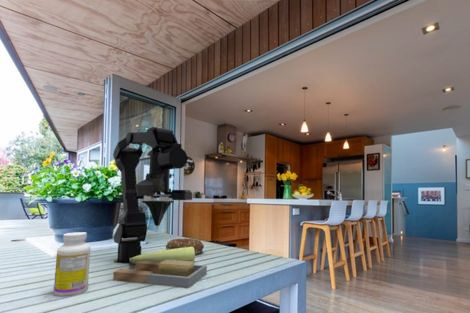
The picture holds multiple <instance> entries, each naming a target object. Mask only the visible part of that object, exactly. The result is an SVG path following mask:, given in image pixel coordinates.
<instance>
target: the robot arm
mask: <svg viewBox="0 0 470 313" xmlns="http://www.w3.org/2000/svg"><path fill="white" fill-rule="evenodd" d="M130 144H131V145H139V146H138V147H137V148H136V147H129V145H130ZM143 145H146V146H149V147H151V150H150V151H149V152H148V153H147V156H148V157H149V169H148V170H149V172H148V173H146V175H145V179H143V180H141V181H140V182H137V174H136V173H137V172H136V169H137V167H138V165H139V164H140V159H141V157H142V155H143V153H144V151H143ZM112 155H113V159H114V164H115V166H116V168H117V169H118V171H119V172H120V176H121V191H122V193H121V194H122V202H123V203H122V205H123V207H122V208H123V213H122V215H121V217H120V218H119V221H118V226H117V228H116V231H115V233H114V234H113V243H116V244H117V259H115V260H113V263H118V264H119V263H120V264H130V265H131V264H132V265H133V263H132V262H131V263H130V259H129V258H133V257H135V256H139V255H142V246H141V242H145V240H146V236H147V232H148V224H147V220H146V219H147V215H146V213H145V212H142V211H141V209H140V206H139V205H140V204H139V200H142V201H141V202H142V203H144V204H145V205H146V206H147V207H148V208H149V211H150V215H151V218H152V221H153V224H154V227H155V226H156V227H159V226H160V225H161V223H162V220H163V219H164V216H165V214H166V212H167V211H168V209H169V207H170V205H171V204H172V203H175V201H192V200H193V193H192V191H191V189H171V188H170V179H172V177H173V176H172V174H171V172H170V170H177V169H182V168H184V167H185V166H186V165H187V164H188V160H189V158H188V155H187V152H186V150H184V149H183V147H182V143H178V139H177V137H176V135H175V134H174V130H172V129H170V128H169V129H168V128H163V127H156V126H151V127H148V128H147V129H146V131H135V132H134V131H129V132H127V134H126V136H125V137H124V138H123V139H121V140H120V141H118V142H117V144H116V146H115V148H114V150H113V154H112Z"/></svg>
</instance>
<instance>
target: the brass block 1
mask: <svg viewBox="0 0 470 313" xmlns="http://www.w3.org/2000/svg"><path fill="white" fill-rule="evenodd" d="M177 262H179V261H178V260H165V261H163V262H160V263H159V274H161V275H173V264H175V263H177Z"/></svg>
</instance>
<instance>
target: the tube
mask: <svg viewBox="0 0 470 313" xmlns="http://www.w3.org/2000/svg"><path fill="white" fill-rule="evenodd" d="M129 259H130V263H131V262H132V264H135V263H136V262H139V261H152V262H163V261H165V260H178V261H192V262H194V263H195V259H196V255H195V250H194V247H185V248H177V249H170V250H166V249H164V250H158V251H154V252H153V251H152V252H149V253H144V254H141V255H139V256H135V257H133V258H129Z"/></svg>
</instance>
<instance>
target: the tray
mask: <svg viewBox="0 0 470 313" xmlns="http://www.w3.org/2000/svg"><path fill="white" fill-rule="evenodd" d="M207 269H208V266H207V265H203V264H194V273H192V274H191V275H189V276H188V277H184V276H173V275H161V274H150V273H149V274H147V284H146V285H153V286H163V287H172V288H174V287H175V288H182V289H184V288H185V289H190V288H191V287H192V286H194V285H195V284H196V283H197V282H198V281H199V280H201V279H202V278H203V277H205V276H206V275H207V271H208V270H207Z"/></svg>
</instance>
